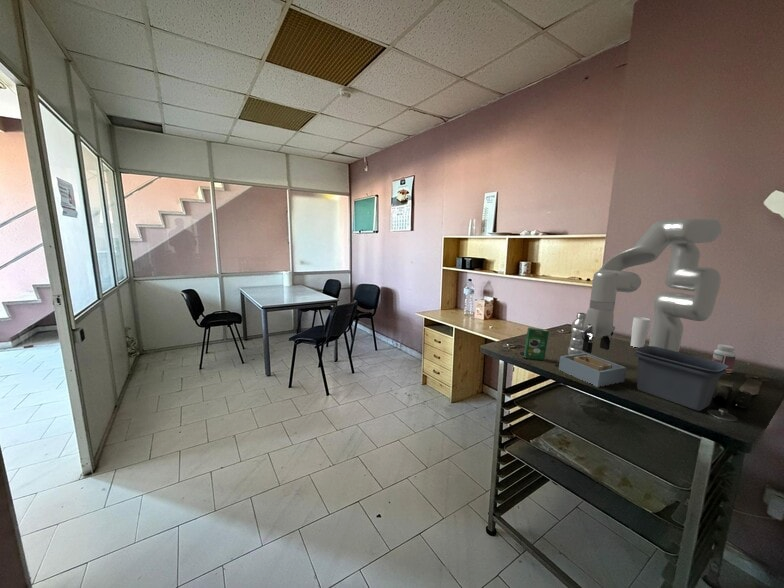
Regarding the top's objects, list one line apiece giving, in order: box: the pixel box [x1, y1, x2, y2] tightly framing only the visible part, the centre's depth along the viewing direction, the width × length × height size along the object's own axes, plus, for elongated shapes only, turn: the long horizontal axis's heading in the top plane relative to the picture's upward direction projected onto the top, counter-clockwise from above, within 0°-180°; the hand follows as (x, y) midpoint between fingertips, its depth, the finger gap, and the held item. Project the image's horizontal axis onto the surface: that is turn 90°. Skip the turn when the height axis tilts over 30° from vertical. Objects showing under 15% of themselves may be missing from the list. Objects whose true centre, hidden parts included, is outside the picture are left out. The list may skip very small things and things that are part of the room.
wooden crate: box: [573, 355, 612, 371], centre depth 118 cm, size 7×10×5 cm
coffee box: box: [523, 327, 549, 361], centre depth 133 cm, size 8×3×13 cm, turn 80°
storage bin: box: [634, 345, 729, 412], centre depth 103 cm, size 21×16×14 cm
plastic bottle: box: [567, 312, 587, 355], centre depth 135 cm, size 6×7×20 cm
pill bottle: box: [711, 343, 737, 373], centre depth 128 cm, size 6×6×11 cm
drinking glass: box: [630, 316, 652, 348], centre depth 156 cm, size 7×7×15 cm
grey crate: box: [558, 352, 627, 388], centre depth 118 cm, size 15×16×6 cm
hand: (595, 350), depth 117 cm, fingers open, 9 cm apart
